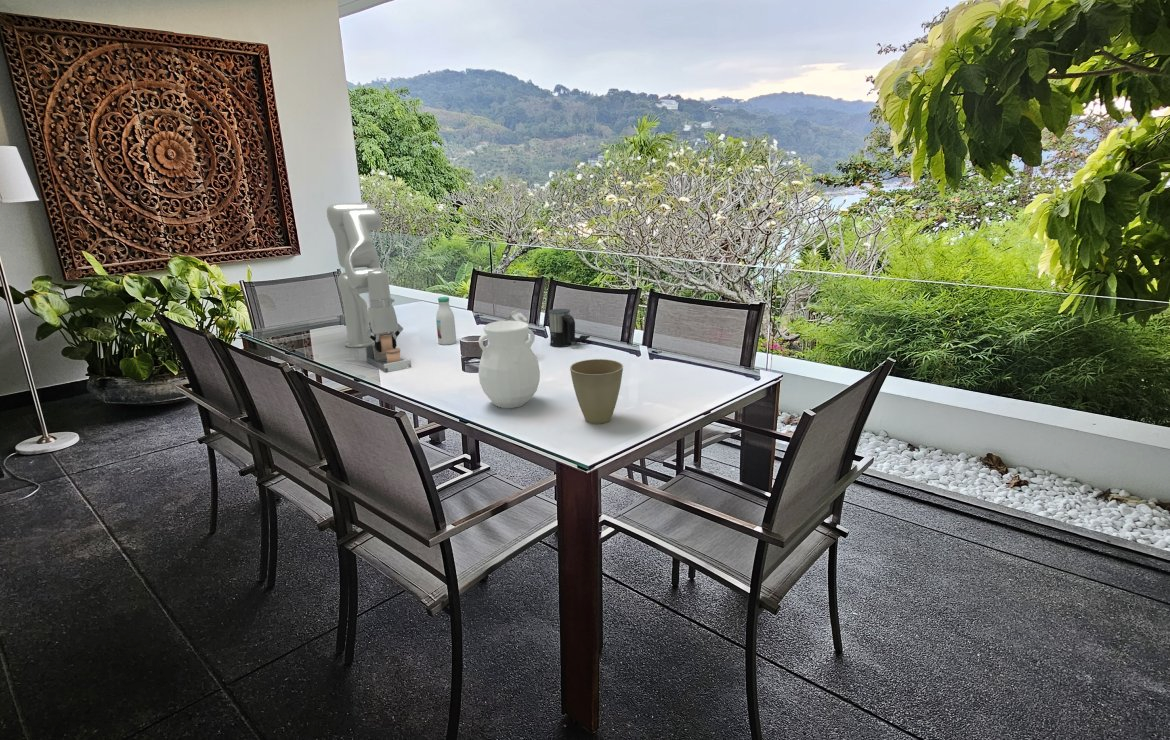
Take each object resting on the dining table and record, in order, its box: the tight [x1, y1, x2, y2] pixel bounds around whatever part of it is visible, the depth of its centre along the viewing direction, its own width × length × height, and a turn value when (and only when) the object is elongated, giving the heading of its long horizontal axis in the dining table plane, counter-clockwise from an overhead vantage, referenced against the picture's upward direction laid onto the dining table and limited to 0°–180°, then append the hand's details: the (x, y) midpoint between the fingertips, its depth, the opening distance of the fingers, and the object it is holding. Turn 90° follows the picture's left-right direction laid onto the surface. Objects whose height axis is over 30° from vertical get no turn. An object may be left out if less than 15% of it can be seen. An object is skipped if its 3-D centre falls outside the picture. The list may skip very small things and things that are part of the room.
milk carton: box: [504, 308, 530, 342], centre depth 239 cm, size 7×7×19 cm
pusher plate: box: [373, 343, 387, 363], centre depth 243 cm, size 8×7×7 cm
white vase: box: [478, 320, 541, 409], centre depth 188 cm, size 19×18×25 cm
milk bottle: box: [436, 296, 457, 346], centre depth 265 cm, size 8×8×20 cm
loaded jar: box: [385, 347, 401, 364], centre depth 232 cm, size 5×5×7 cm
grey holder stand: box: [365, 345, 412, 373], centre depth 236 cm, size 20×10×6 cm, turn 37°
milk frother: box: [547, 308, 591, 348], centre depth 260 cm, size 14×16×15 cm
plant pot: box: [569, 358, 624, 425], centre depth 174 cm, size 15×15×16 cm
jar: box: [379, 333, 393, 354], centre depth 236 cm, size 5×5×7 cm
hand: (386, 349), depth 236 cm, fingers closed on jar, 5 cm apart
